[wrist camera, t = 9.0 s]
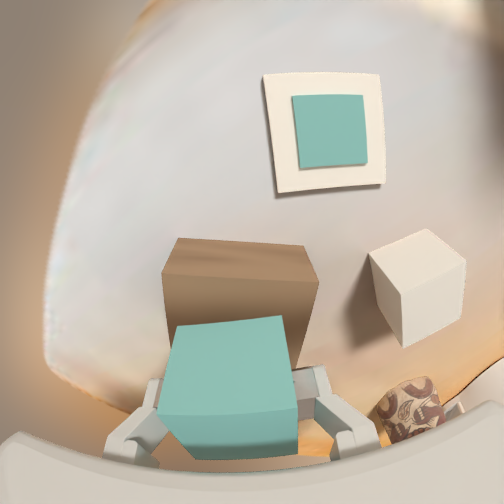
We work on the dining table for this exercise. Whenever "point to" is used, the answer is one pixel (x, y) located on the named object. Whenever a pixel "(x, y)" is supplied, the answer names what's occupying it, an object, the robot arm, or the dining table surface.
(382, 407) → the figurine
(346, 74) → the tile
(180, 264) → the walnut base
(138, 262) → the dining table surface
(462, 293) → the cream cube
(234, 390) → the teal cube
